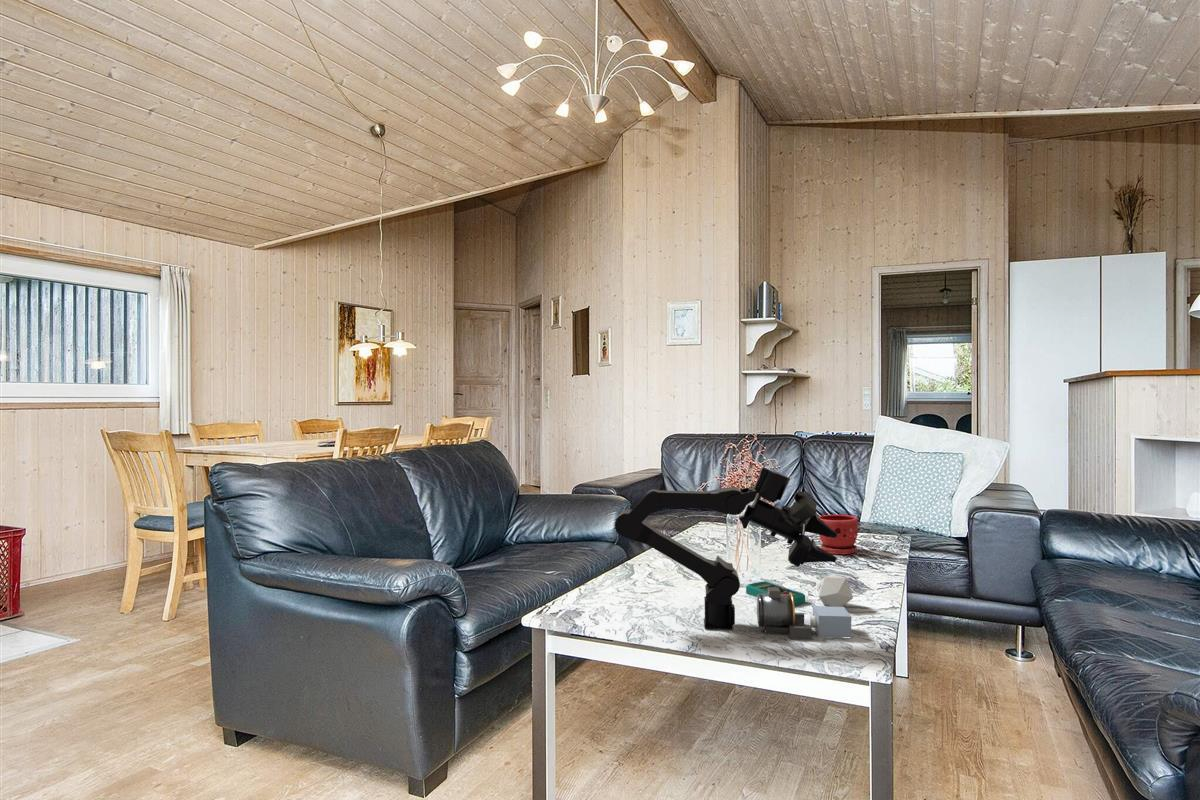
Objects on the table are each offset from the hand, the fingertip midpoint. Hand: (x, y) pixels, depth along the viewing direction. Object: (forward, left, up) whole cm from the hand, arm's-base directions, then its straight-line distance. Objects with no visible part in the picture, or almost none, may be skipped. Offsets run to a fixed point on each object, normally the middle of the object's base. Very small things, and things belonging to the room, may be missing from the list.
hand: (836, 547), depth 159 cm
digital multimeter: (-11, +25, -20) cm, 33 cm away
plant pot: (+17, +81, -19) cm, 85 cm away
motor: (-15, -2, -19) cm, 24 cm away
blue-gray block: (-1, -2, -19) cm, 19 cm away
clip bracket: (-8, -2, -19) cm, 21 cm away
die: (+3, +18, -19) cm, 27 cm away
